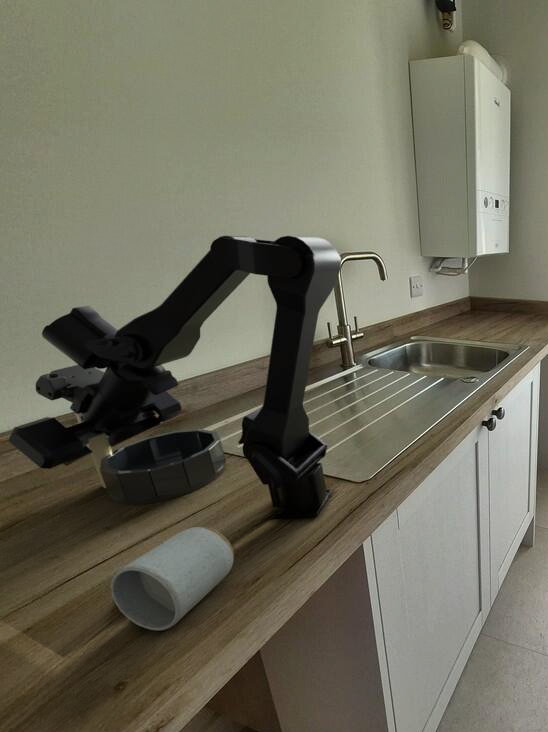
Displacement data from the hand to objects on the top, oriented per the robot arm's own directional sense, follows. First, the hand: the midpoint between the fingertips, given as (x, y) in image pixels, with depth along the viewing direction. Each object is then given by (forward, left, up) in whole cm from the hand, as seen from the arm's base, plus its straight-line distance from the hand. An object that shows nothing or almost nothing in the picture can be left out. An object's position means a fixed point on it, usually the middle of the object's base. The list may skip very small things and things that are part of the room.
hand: (88, 453), depth 63 cm
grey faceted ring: (-8, -2, -6) cm, 10 cm away
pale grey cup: (-27, +23, -7) cm, 36 cm away
